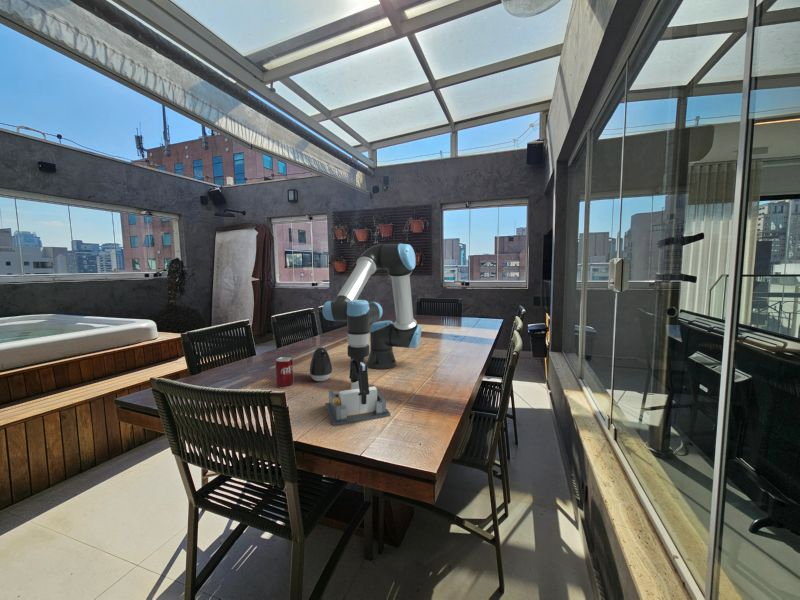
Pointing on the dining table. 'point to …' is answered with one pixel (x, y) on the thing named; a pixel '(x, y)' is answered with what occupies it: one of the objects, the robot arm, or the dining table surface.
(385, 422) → the dining table surface
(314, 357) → the dark grey egg shape
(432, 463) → the dining table surface
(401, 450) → the dining table surface
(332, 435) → the dining table surface
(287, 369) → the soda can
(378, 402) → the rack
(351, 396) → the panel
